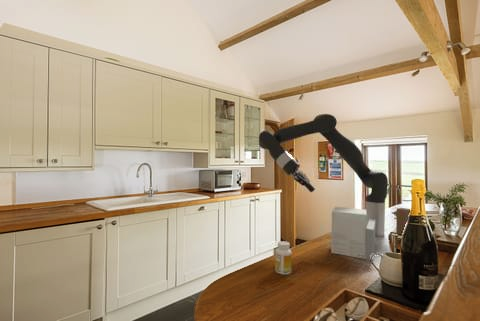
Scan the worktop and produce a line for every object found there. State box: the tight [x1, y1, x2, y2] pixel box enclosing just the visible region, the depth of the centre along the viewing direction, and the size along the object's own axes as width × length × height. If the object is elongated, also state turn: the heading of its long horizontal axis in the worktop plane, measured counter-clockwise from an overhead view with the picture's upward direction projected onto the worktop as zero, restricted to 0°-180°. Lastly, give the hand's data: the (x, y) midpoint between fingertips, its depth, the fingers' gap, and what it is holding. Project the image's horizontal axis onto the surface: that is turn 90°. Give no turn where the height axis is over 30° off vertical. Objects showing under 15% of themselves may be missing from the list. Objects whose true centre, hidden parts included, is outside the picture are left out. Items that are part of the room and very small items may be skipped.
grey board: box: [365, 218, 376, 261], centre depth 108 cm, size 22×2×12 cm, turn 150°
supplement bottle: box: [274, 240, 293, 276], centre depth 87 cm, size 5×5×10 cm
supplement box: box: [330, 206, 367, 260], centre depth 108 cm, size 13×13×18 cm
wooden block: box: [395, 207, 411, 235], centre depth 110 cm, size 9×4×18 cm, turn 40°
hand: (313, 190), depth 116 cm, fingers closed
